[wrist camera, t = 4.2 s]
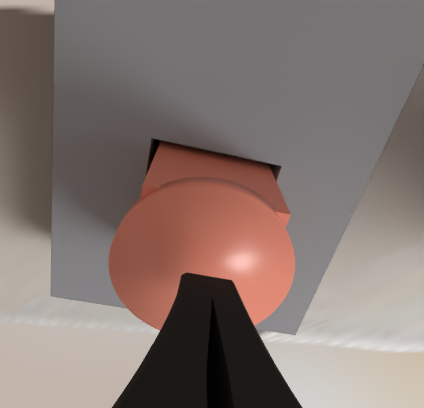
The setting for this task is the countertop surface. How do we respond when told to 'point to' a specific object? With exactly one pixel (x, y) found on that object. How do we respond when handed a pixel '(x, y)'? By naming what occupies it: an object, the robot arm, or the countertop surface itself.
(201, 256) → the red plug
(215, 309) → the robot arm
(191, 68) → the plug panel
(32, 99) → the countertop surface
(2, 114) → the countertop surface
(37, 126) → the countertop surface
